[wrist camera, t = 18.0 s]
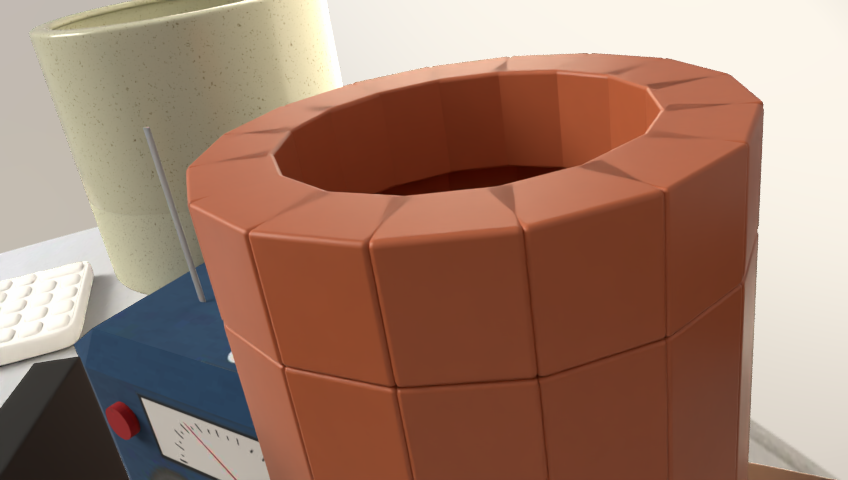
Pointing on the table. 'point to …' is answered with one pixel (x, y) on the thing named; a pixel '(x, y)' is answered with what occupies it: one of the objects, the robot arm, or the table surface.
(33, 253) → the table surface
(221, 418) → the radio
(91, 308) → the table surface
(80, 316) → the calculator
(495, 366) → the canister
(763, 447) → the table surface
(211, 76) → the planter
